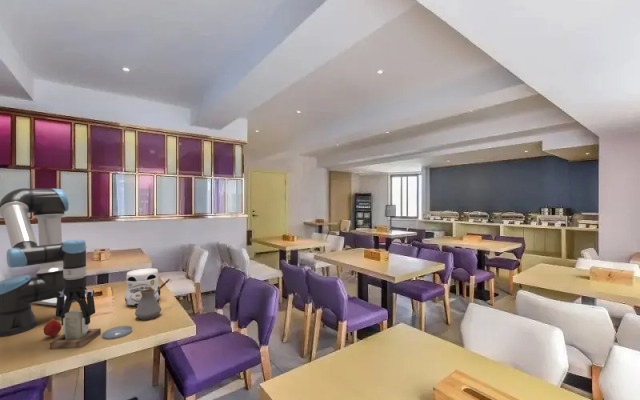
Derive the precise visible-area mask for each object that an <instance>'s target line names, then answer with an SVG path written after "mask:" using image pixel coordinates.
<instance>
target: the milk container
mask: <svg viewBox="0 0 640 400" xmlns="http://www.w3.org/2000/svg"><path fill="white" fill-rule="evenodd" d="M125 277H126V291H125V295H124V302H125V304H127V305H128V306H131V307H138V304H139V302H140V300H141V297H142V294H141V293H140V292H141V291H143V290H148V289H154V290H155V291H156V290H158V288H159V287H160V285H159V270H158V268H154V267H146V268H140V269H139V268H138V269H133V270H130V271H128V272H126V276H125ZM154 296H155V298H156V300H157V301H159V299H160V297H161V289H160V290H159V291H158V292H157V293H156V294H155V295H154ZM127 305H126V306H127Z"/></svg>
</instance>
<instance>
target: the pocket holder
mask: <svg viewBox="0 0 640 400" xmlns="http://www.w3.org/2000/svg"><path fill="white" fill-rule="evenodd" d="M101 333H102V330H101V328H89V331H87V335H85V336H84V337H82V338H81V339H76V340H65V334H62V335H61V336H58V337H56V338H55V339H54V340H52V341H50V342H49V343H48V345H49V350H56V349H57V350H59V349H60V350H62V349H64V350H65V349H79V348H80V349H82V348H83V347H85V346H86V345H88V344H89V343H91V342H92V341H93V340H95V339H96V338H98V337H99V336H100V335H102V334H101Z"/></svg>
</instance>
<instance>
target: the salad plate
mask: <svg viewBox="0 0 640 400" xmlns="http://www.w3.org/2000/svg"><path fill="white" fill-rule="evenodd" d="M64 297H65V298H64V305H65V300H66V296H64ZM81 299H82V298H81ZM75 301H76V302H77V300H73V301H72V302H75ZM33 304H37V305H38V304H39V305H47V306H54V307H55V306H56V305H57V298H52V299H48V300H43V301H38V302H33Z"/></svg>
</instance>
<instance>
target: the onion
mask: <svg viewBox="0 0 640 400" xmlns="http://www.w3.org/2000/svg"><path fill="white" fill-rule="evenodd" d="M62 328H63V326H62V325H61V322H59V321H58V320H56V319H55V318H52V319H50V320H49V321H48V322H47V323H46V324H45V325H44V328H43V334H44V335H46V336H47V337H50V338H55V337H56V336H57V335H58V334H59V333H60V332H61V330H62Z"/></svg>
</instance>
